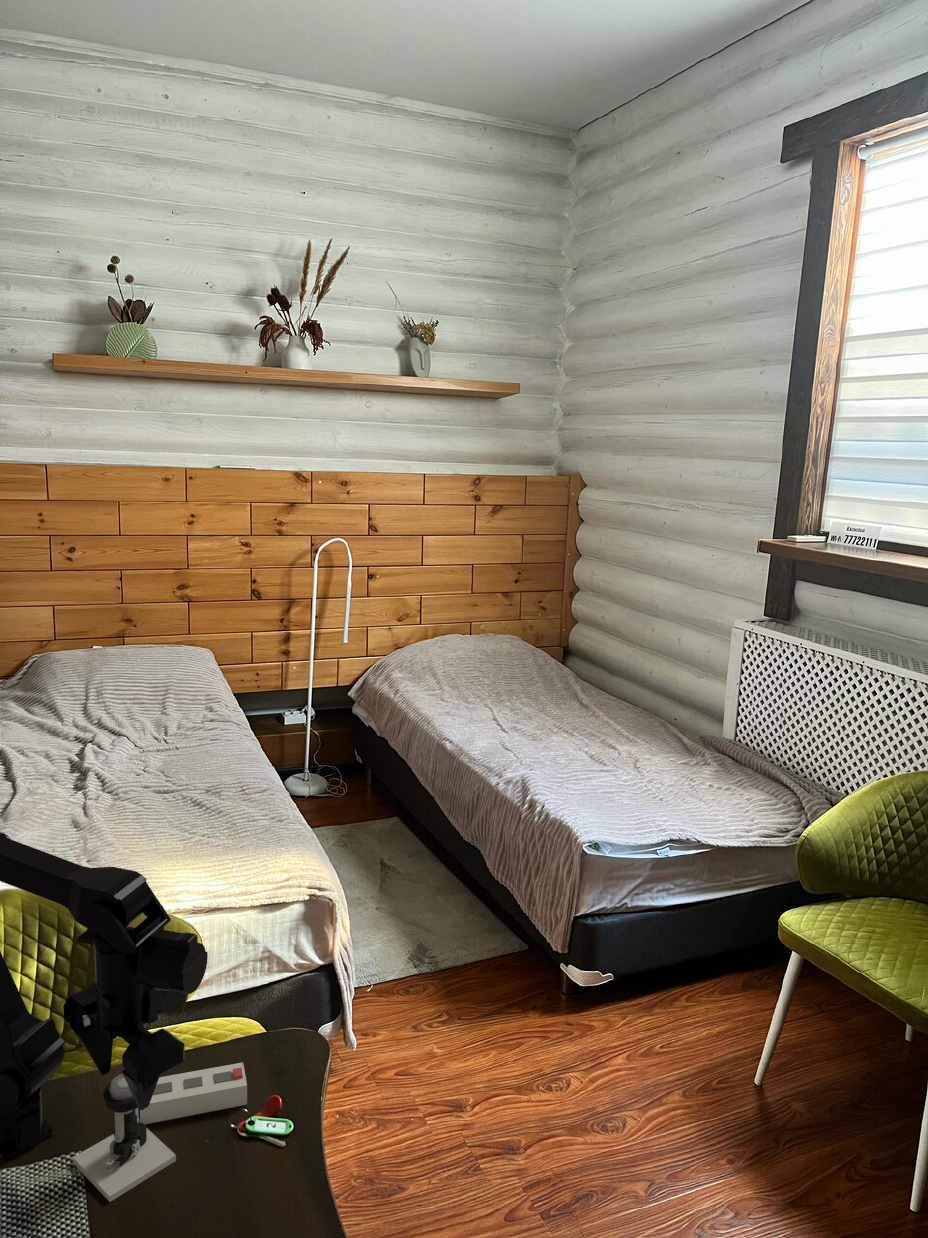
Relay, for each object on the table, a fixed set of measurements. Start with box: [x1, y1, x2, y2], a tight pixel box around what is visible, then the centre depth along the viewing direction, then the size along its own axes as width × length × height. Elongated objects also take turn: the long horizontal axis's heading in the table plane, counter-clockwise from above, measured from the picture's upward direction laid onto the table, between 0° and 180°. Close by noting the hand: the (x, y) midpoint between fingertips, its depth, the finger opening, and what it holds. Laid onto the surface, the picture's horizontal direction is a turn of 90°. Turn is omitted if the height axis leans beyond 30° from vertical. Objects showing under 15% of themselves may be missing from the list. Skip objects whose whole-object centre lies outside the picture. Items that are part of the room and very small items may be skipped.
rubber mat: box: [72, 1120, 177, 1203], centre depth 116 cm, size 9×9×1 cm
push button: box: [102, 1073, 147, 1172], centre depth 115 cm, size 7×5×10 cm
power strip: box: [139, 1062, 248, 1125], centre depth 127 cm, size 14×5×4 cm, turn 110°
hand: (124, 1090), depth 114 cm, fingers open, 9 cm apart
